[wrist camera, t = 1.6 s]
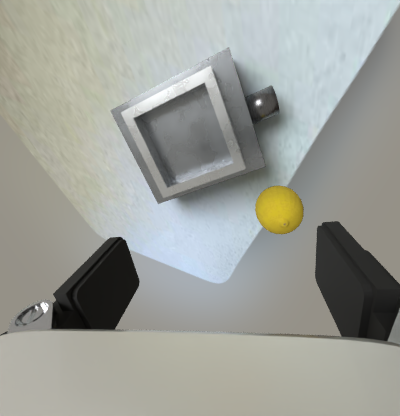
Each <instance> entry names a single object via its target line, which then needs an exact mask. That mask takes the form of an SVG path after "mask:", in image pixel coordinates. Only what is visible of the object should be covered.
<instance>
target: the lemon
mask: <svg viewBox="0 0 400 416" xmlns="http://www.w3.org/2000/svg"><path fill="white" fill-rule="evenodd" d="M255 211H256V215H257V218H258V220H259V222H260V223H261V225H262V226H263V227H264V228H265V229H266V230H268V231H270V232H272V233H275V234H286V233H289V232H292V231H293V230H295V229H296V228H297V227H298V226H299V225H300V223H301V221H302V218H303V205H302V202H301V199H300V198H299V196H298V195H297V194H296V193H295V192H294V191H293V190H291V189H289V188H287V187H284V186H273V187H269V188H267V189H266V190H264V191H263V192H262V193H261V194H260V195H259V197H258V199H257V202H256V208H255Z"/></svg>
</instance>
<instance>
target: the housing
mask: <svg viewBox="0 0 400 416" xmlns="http://www.w3.org/2000/svg"><path fill="white" fill-rule="evenodd" d="M111 113H112V115H113V117H114V119H115V121H116V123H117V125H118V127H119V129H120V130H121V132H122V134H123V136H124V138H125V140H126V142H127V144H128V146H129V148H130V150H131V152H132V154H133V156H134V158H135V160H136V162H137V164H138V165H139V167H140V169H141V171H142V173H143V175H144V177H145V179H146V181H147V183H148V185H149V187H150V189H151V191H152V193H153V195H154V197H155V199H156V201H157V202H158V204H159V203H162V202H165V201H168V200H171V199H174V198H176V197H179V196H182V195H185V194H188V193H191V192H194V191H197V190H199V189H202V188H205V187H208V186H211V185H214V184H217V183H220V182H222V181H225V180H228V179H231V178H234V177H237V176H240V175H242V174H245V173H248V172H251V171H254V170H257V169H260V168H263V167H265V163H264V159H263V156H262V153H261V150H260V146H259V143H258V140H257V137H256V133H255V130H254V127H253V124H255V123H258V122H260V121H263V120H265V119H268V118H270V117H272V116H275V115H277V114H279V105H278V101H277V97H276V94H275V91H274V89H273V87H272V86H269V87H267V88H265V89H262V90H260V91H258V92H256V93H254V94H251V95H249V96H247V97H245V98H244V94H243V91H242V88H241V85H240V81H239V78H238V75H237V72H236V68H235V65H234V62H233V58H232V55H231V52H230V49H229V48H227V49H225V50H223V51H221V52H219V53H217V54H215V55H214V56H212V57H210V58H208V59H206V60H204V61H202V62H201V63H199V64H197V65H195V66H193V67H191V68H189V69H187V70H186V71H184V72H182V73H180V74H178V75H176V76H174V77H173V78H171V79H169V80H167V81H165V82H163V83H161V84H159V85H158V86H156V87H154V88H152V89H150V90H148V91H146V92H144V93H143V94H141V95H139V96H137V97H135V98H133V99H131V100H130V101H128V102H126V103H124V104H122V105H120V106H118V107H116V108H115V109H113V110H111Z"/></svg>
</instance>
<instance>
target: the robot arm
mask: <svg viewBox="0 0 400 416" xmlns="http://www.w3.org/2000/svg"><path fill="white" fill-rule="evenodd" d="M315 277H316V281H317V284H318V286H319V288H320V291H321V293H322V295H323V297H324V299H325V301H326V304H327V306H328V308H329V310H330V312H331V314H332V316H333V318H334V320H335V323H336V325H337V327H338V329H339V331H340V334H341V336H342V337H339V336H324V335H299V334H272V333H239V332H203V331H202V332H201V331H161V330H160V331H159V330H115V328H116V326H117V324H118V323H119V321H120V319H121V317H122V315H123V314H124V312H125V310H126V308H127V306H128V305H129V303H130V301H131V299H132V297H133V296H134V294H135V292H136V290H137V288H138V286H139V278H138V275H137V272H136V269H135V266H134V263H133V260H132V257H131V254H130V251H129V249H128V246H127V243H126V241H125V240H124V239H123V238H121V237H113V238H109V239H108V240H107V241H106V242H105V243H104V244H103V245H102V246H101V247H100V248H99V249H98V250H97V251H96V252H95V253H94V254H93V255H92V256H91V257H90V258H89V259H88V260H87V261H86V262H85V263H84V264H83V265H82V266H81V267H80V268H79V269H78V270H77V271H76V272H75V273H74V274H73V275H72V276H71V277H70V278H69V279H68V280H67V281H66V282H65V283H64V284H63V285H62V286H61V287H60V288H59V289H58V290H57V291H56V292H55V293H54V294H53V295H54V297H55V298H56V301H55V302H54V303H53V302H52V301H50V300H41V301H38V302H35V303H33V304H31V305H29V306H27V307H26V308H24V309H23V310H21V311H20V312H19V313H18V314H17V315H16V316H15V317H14V318H13V319H12V321H11V323H10V325H9V329H8V331H7V332H5V333H3V334H1V335H0V416H400V284H399V283H398V282H397V281H396V280H395V279H394V278H393V277H392V276H391V275H390V273H388V271H387V270H386V269H385V268H384V267H383V266H382V265H381V264H380V263H379V262H378V261H377V260H376V259H375V258H374V256H372V255H371V253H370V252H368V251H366V250H364V249H363V248H362V247H361V246H360V245H359V244H358V243H357V242H356V240H355V239H354V238H353V237H352V236H351V235H350V234H349V233H348V232H347V231H346V229H345V228H344V227H343V226H342V225H341V224H340V223H339V222H337V221H335V222H323V223H322V226H318V228H317V246H316V270H315Z"/></svg>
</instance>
